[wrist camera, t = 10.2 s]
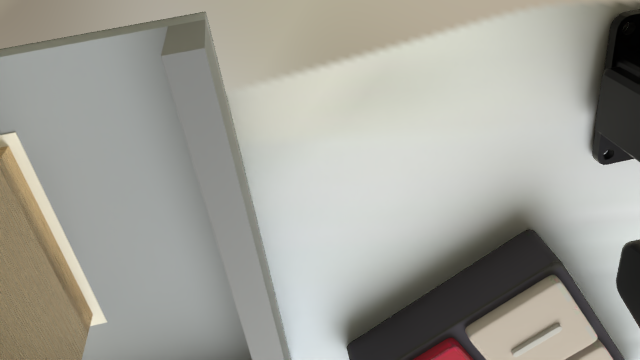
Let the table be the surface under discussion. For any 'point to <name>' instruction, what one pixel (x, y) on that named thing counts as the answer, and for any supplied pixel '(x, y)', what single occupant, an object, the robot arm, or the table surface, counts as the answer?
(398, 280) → the table surface
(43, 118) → the arena
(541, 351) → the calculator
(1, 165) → the bracket
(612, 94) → the robot arm
